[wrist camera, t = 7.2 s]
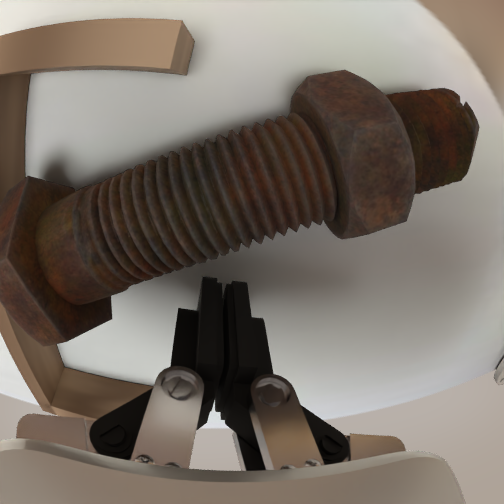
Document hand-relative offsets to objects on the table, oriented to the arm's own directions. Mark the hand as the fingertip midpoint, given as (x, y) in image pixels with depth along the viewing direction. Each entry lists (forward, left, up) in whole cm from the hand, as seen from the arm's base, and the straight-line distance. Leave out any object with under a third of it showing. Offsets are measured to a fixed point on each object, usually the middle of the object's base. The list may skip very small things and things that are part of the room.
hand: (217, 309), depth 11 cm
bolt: (0, -5, -2) cm, 5 cm away
